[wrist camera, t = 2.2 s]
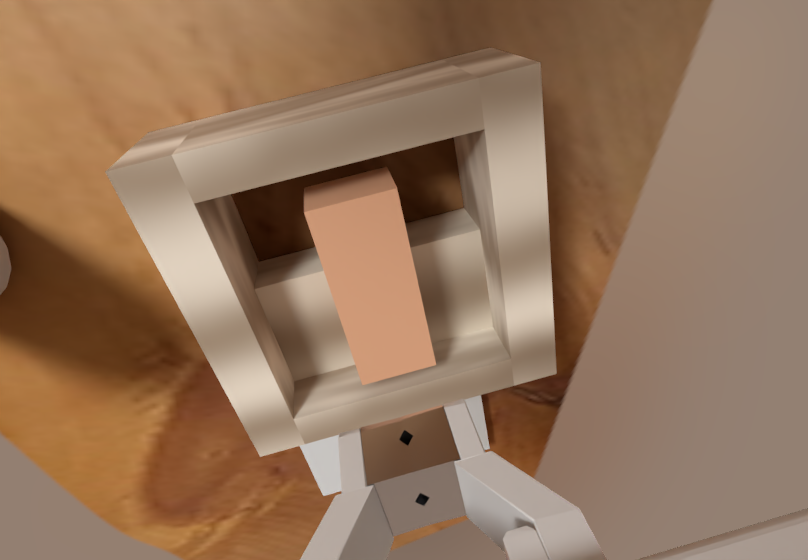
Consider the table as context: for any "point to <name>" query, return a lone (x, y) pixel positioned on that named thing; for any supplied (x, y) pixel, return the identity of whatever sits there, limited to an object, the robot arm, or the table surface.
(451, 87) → the pocket block
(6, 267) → the can
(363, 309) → the bar
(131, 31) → the table surface
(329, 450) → the mat
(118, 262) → the table surface
